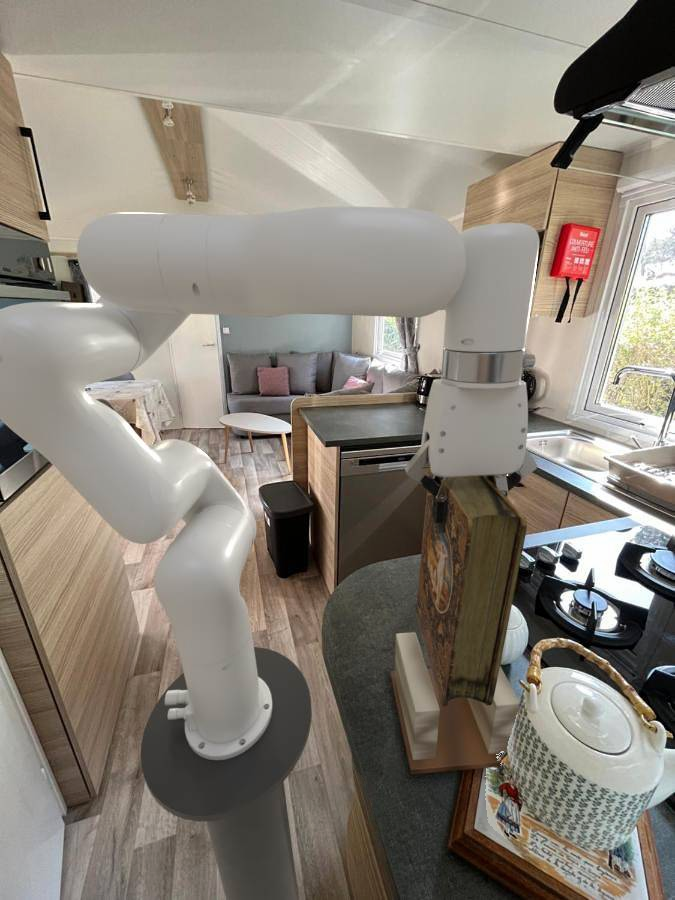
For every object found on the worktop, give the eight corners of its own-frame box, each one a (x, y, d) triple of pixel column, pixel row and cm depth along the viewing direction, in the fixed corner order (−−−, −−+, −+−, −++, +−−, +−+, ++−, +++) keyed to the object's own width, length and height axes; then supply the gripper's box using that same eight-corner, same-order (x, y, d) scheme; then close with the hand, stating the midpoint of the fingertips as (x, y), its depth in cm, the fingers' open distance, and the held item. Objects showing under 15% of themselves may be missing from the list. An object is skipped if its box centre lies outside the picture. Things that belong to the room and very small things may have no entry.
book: (413, 606, 59) (427, 456, 50) (449, 606, 59) (468, 456, 50) (443, 712, 43) (469, 522, 35) (490, 711, 43) (529, 521, 35)
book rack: (410, 774, 49) (413, 720, 45) (390, 676, 62) (391, 628, 58) (517, 765, 49) (528, 711, 46) (474, 669, 62) (480, 622, 59)
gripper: (542, 360, 42) (519, 506, 48) (389, 365, 41) (386, 513, 47) (588, 370, 35) (554, 540, 41) (405, 376, 34) (399, 548, 40)
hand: (464, 524), depth 44 cm, fingers closed on book, 4 cm apart
